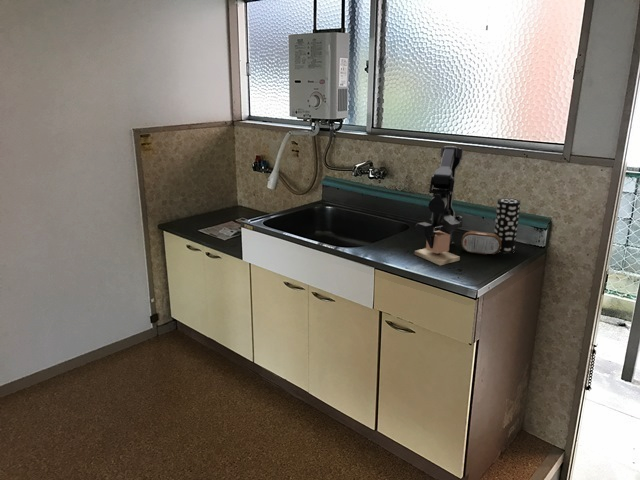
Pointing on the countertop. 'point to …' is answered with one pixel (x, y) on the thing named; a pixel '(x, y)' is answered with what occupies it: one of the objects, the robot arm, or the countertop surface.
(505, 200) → the spotted tube
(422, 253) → the post stand
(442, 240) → the collar
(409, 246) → the countertop surface
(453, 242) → the robot arm
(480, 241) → the tin
